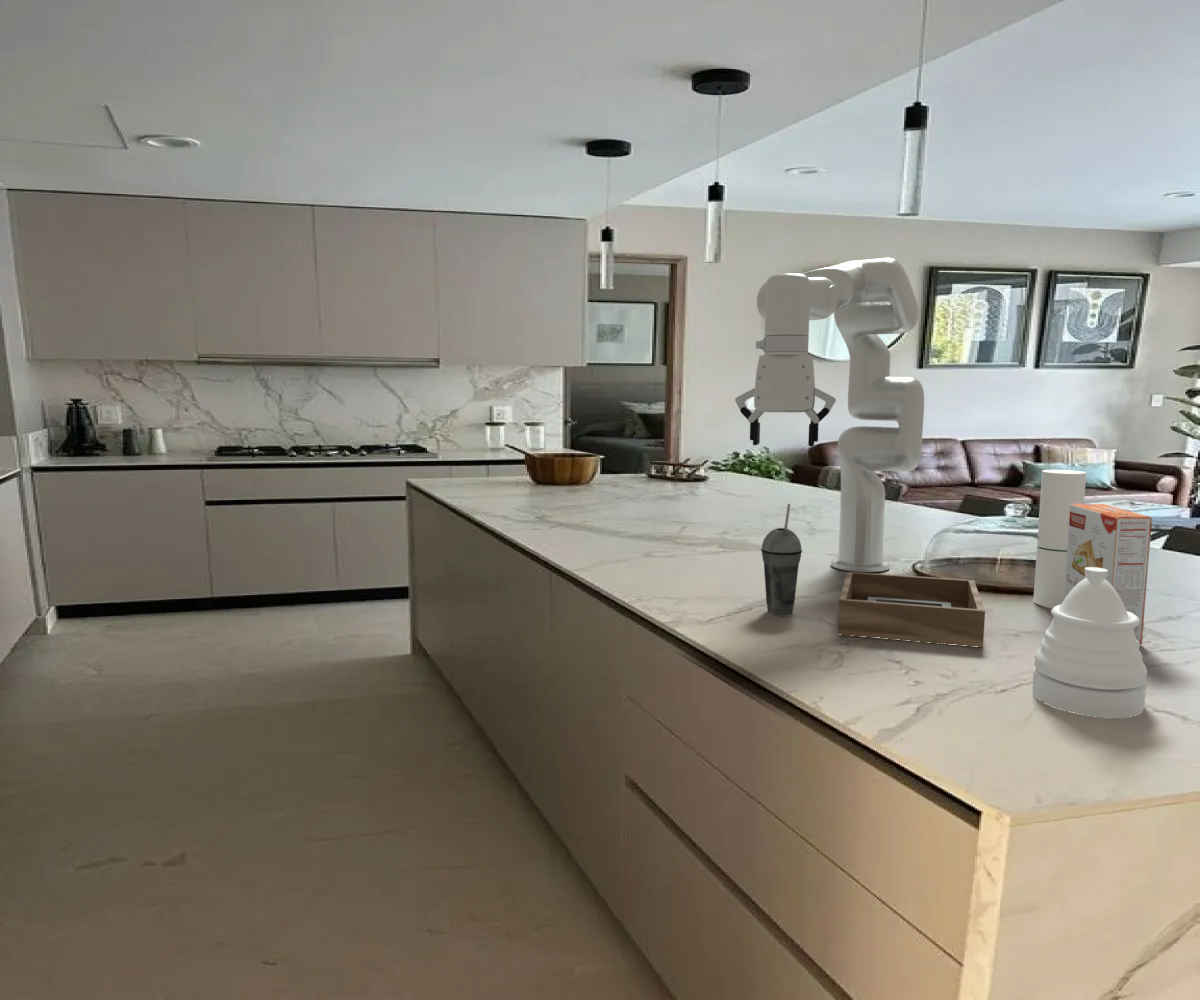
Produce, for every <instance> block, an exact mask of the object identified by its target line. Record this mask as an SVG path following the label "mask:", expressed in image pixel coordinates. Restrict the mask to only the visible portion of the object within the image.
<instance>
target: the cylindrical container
mask: <svg viewBox="0 0 1200 1000" xmlns="http://www.w3.org/2000/svg"><path fill="white" fill-rule="evenodd" d="M1040 482H1041V484H1040V495H1039V496H1040V497H1039V499H1040V500H1039V509H1038V510H1039V513H1038V514H1039V515H1038V528H1037V540H1036V541H1037V542H1036V543H1037V544H1036V559H1035V569H1034V570H1035V572H1034V573H1035V574H1034V585H1033V586H1034V587H1033V588H1034V589H1033V602H1034V603H1036V604H1038V605H1037V606H1039V605H1041V606H1040V607H1042V606H1044V607H1043V608H1047V609H1053V608H1054V607H1055V606H1058V605H1061V604H1062V602H1063V601H1064V596H1065V581H1066V565H1067V550H1068V534H1069V518H1070V505H1071V504H1081V503H1085V497H1086V495H1085V494H1086V482H1087V472H1086V471H1082V470H1073V469H1072V470H1071V469H1043V470H1041V481H1040ZM1034 603H1033V604H1034ZM1036 604H1035V605H1036Z"/></svg>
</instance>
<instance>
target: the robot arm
mask: <svg viewBox="0 0 1200 1000" xmlns="http://www.w3.org/2000/svg"><path fill="white" fill-rule="evenodd" d="M756 307H757V310H758V311H757V312H758V313H759V315H760V316H761V318H763V320H764V337H763V339H761V340H759V341H758V340H757V341H756V342H755V348H756V350H759V349H760V350H762V352H763V355H759V357H758V361H757V367H756V372H755V382H754V383H755V384H754V388H752V389H750V390H748V391H746V392H744V393H742V394H740V395H737V397H735V398H734V400H735V403H736V406H737V407H738V409H739V411H740V413H741V414H742V416H743V417H744V418H746V420H747V422H749V441H752V445H753V446H758V445H760V443H761V442H760V440H761V437H760V436H761V422H759V419H760V418H761V416H763V414H764V413H805V414H806V416H807V417H808V419H810V423H809V424H808V440H807V441H808V442H807V443H808V446H809V447H814V446H815V442H818V441H819V423H820V422H821V421H822V420H824V418H826V416H828V414H829V413H830V411H831V410H832V408H833V407H834V405H835V403H836V401H837V399H836V397H835V396H833V395H831V394H830V393H829V394H828V393H827V392H825V391H823V390H821V389H819V388H817V387H815V386H816V384H815V383H816V381H815V368H814V360H813V355H812V354H809V338H810V337H809V336H810V335H809V333H810V321H818V320H825V319H827V318H829V317H830V316H832V315H833V318H834V322H835V325H836V326H837V329H838V331H839V333H840V334H841V337H842V339H843V341H844V343H845V344H846V347H847V351H848V355H849V371H848V372H849V375H848V389H847V390H848V391H847V408H848V413H849V415H850V416H851V417H852V418H853V419H856V420H860V421H861V420H862V421H863V420H864V421H880V422H881V421H882V422H883V421H884V422H897V423H898V424H897V425H898V427H893V426H892V427H891V426H890V427H888V426H887V427H886V426H884V427H883V426H864V425H863V426H861V425H860V426H852V427H850V428H846V429H845V430H843V432H841V434H840V435H839V437H838V440H837V453H838V461H839V468H840V469H839V470H840V500H839V501H840V502H839V503H840V504H839V532H838V534H839V535H838V556H837V557H834V558H832V559H831V560H830V562H831V563H830V565H831V566H832V568H835V569H838V570H841V571H847V572H859V573H877V572H884V571H887V570H890V564H891V563H889V561H887V560H885V559H883V555H884V553H883V552H884V536H885V535H884V533H885V532H884V531H885V506H886V504H885V503H886V490H885V485H884V483H883V481H882V480H881V479H880V477H879V476H878V474H877V473H876V471H878V472H879V471H883V472H904V473H907V472H912V471H913V470H915V469H916V468H917V467H918V466H919V464H920V460H921V455H922V446H923V432H924V431H923V430H924V415H925V413H924V412H925V392H924V388H923V385H922V383H921V382H920V381H919V380H918V379H917V378H915V377H912V376H891V373H890V371H891V352H890V350H889V348H888V346H887V345H886V343H885V342H884V340H882V338H881V337H880V336H879V335H892V334H893V335H894V334H898V335H899V334H905V333H909V332H910V331H911V330H913V329H914V328H915V326H916V324H917V323H918V318H919V305H918V301H917V297H916V295H915V292H914V289H913V287H912V284H911V282H910V279H909V277H908V274H907V272H906V270H905V268H904V267H903V265H902V264H901V263H900V262H899V261H898V260H897V259H895V258H891V257H882V258H880V257H879V258H869V259H857V260H848V261H845V262H841V263H840V262H839V263H838V264H834V265H831V266H830V265H829V266H827V267H821V268H816V269H813V270H808V271H805V272H799V273H790V272H789V273H779V274H773V275H771V276H770V277H769V278H768V279H766V281H765V282H764V283H763V284H762V285H761V286H760V288H759V290H758V292H757V296H756ZM753 397H754V399H753V401H754V402H753V405H754V410H753V412H752V411H751V410H750V408H749V407H748V406H747V404H746V402H747V401H748V400H750V399H751V398H753ZM816 398H818V399H820V400H822V401H823V402H825V403H824V406H823V408H822V409H821V410H820V411H819V412H818V413H817V412H816V410H814V408H815V401H816ZM808 446H807V447H808Z"/></svg>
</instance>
